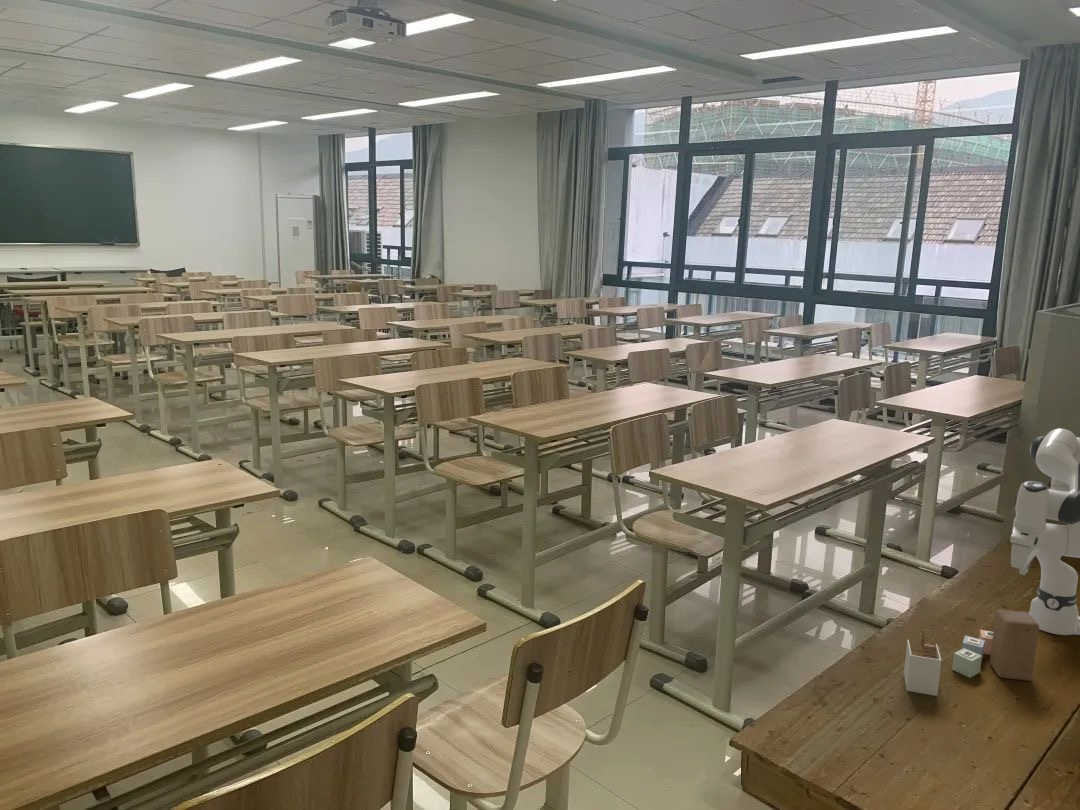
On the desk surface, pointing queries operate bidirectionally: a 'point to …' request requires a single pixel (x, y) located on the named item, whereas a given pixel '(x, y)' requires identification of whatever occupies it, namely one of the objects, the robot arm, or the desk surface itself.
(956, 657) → the tile cube sage
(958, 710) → the desk surface
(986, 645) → the tile cube terracotta
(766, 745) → the desk surface
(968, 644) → the tile cube slate
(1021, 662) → the wooden block
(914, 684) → the tall white open bin
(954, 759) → the desk surface
